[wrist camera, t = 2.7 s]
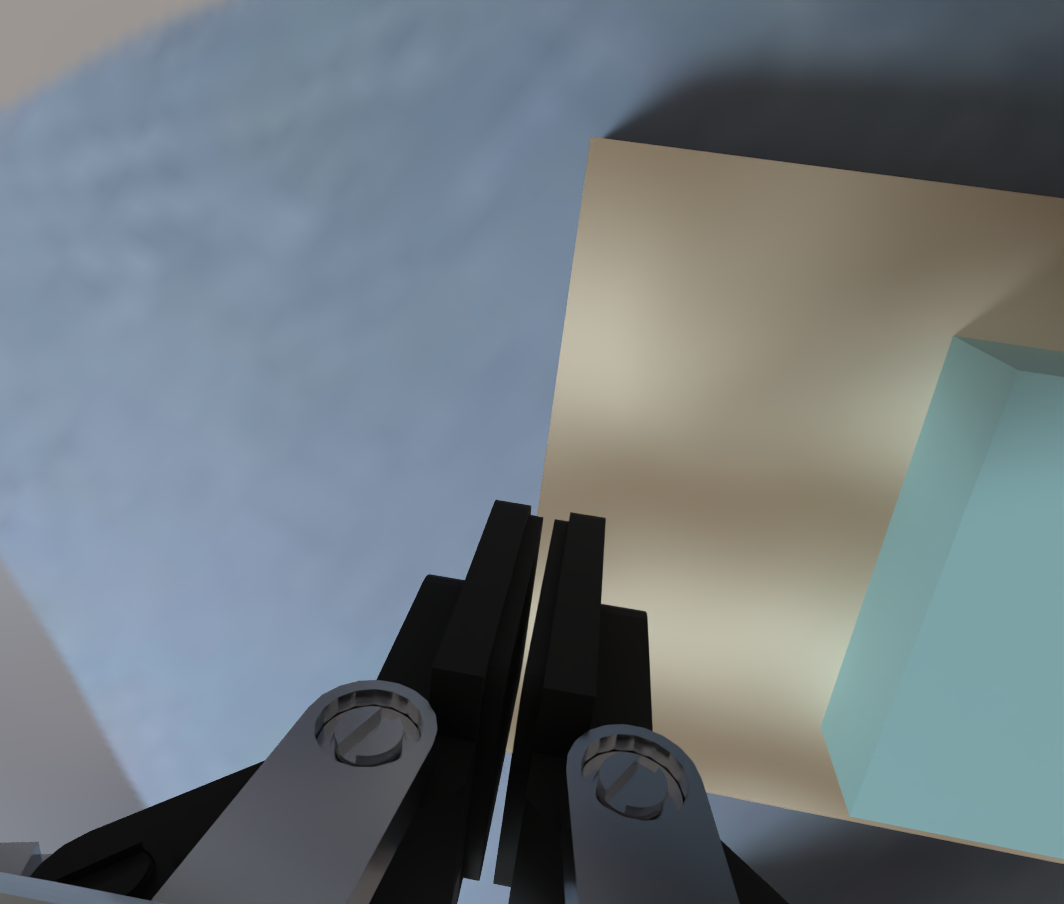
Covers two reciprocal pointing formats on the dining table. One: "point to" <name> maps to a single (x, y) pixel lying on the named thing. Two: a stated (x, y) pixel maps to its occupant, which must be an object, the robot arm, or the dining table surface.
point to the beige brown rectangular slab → (766, 420)
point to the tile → (966, 618)
